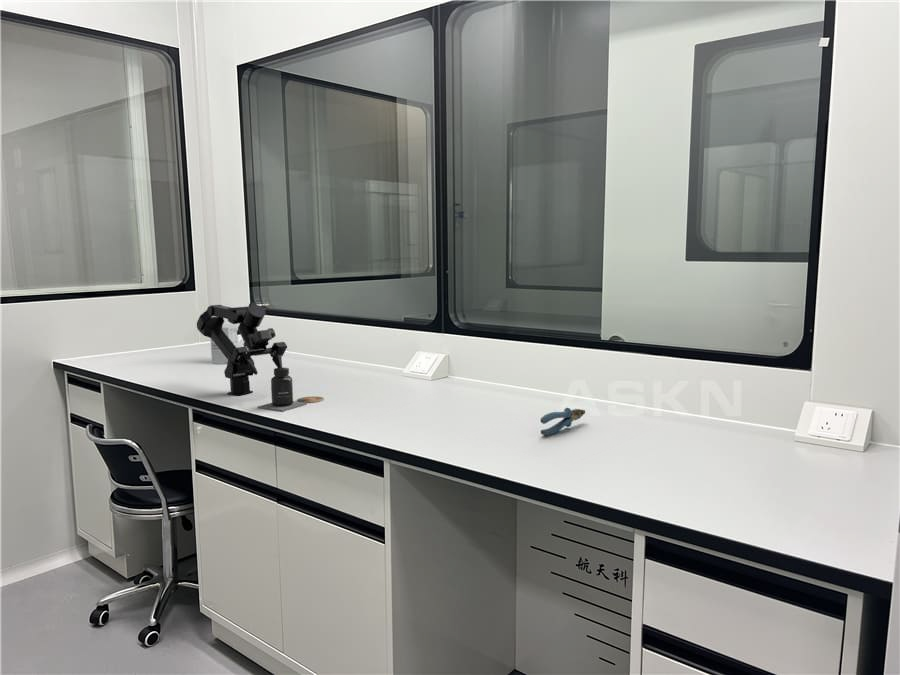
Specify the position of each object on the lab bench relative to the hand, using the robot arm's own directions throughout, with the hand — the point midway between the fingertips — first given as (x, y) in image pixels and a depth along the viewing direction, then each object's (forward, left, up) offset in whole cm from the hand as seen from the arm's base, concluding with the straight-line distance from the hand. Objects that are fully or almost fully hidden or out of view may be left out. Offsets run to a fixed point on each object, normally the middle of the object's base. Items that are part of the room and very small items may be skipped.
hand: (269, 371), depth 224 cm
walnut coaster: (+9, +9, -10) cm, 17 cm away
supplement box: (-79, +48, -11) cm, 93 cm away
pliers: (+99, +15, -11) cm, 100 cm away
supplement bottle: (+7, -2, -10) cm, 13 cm away
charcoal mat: (+7, -2, -10) cm, 13 cm away
